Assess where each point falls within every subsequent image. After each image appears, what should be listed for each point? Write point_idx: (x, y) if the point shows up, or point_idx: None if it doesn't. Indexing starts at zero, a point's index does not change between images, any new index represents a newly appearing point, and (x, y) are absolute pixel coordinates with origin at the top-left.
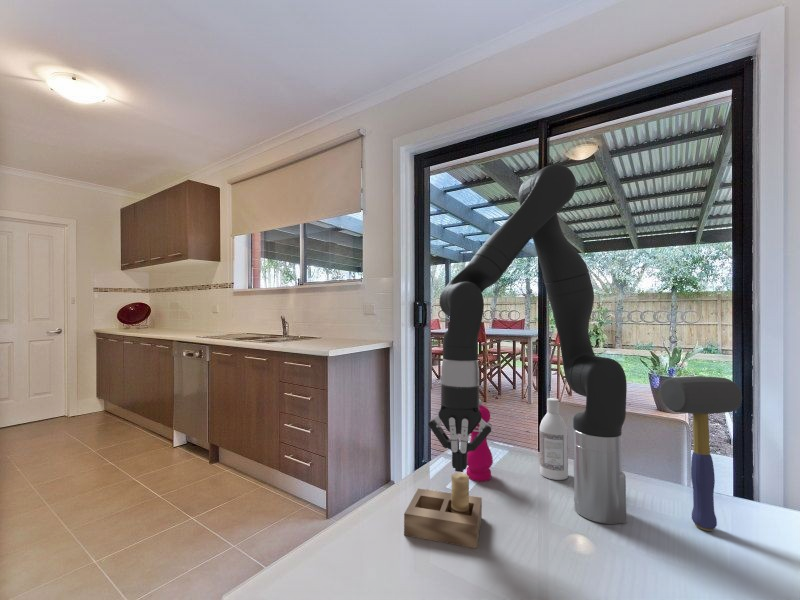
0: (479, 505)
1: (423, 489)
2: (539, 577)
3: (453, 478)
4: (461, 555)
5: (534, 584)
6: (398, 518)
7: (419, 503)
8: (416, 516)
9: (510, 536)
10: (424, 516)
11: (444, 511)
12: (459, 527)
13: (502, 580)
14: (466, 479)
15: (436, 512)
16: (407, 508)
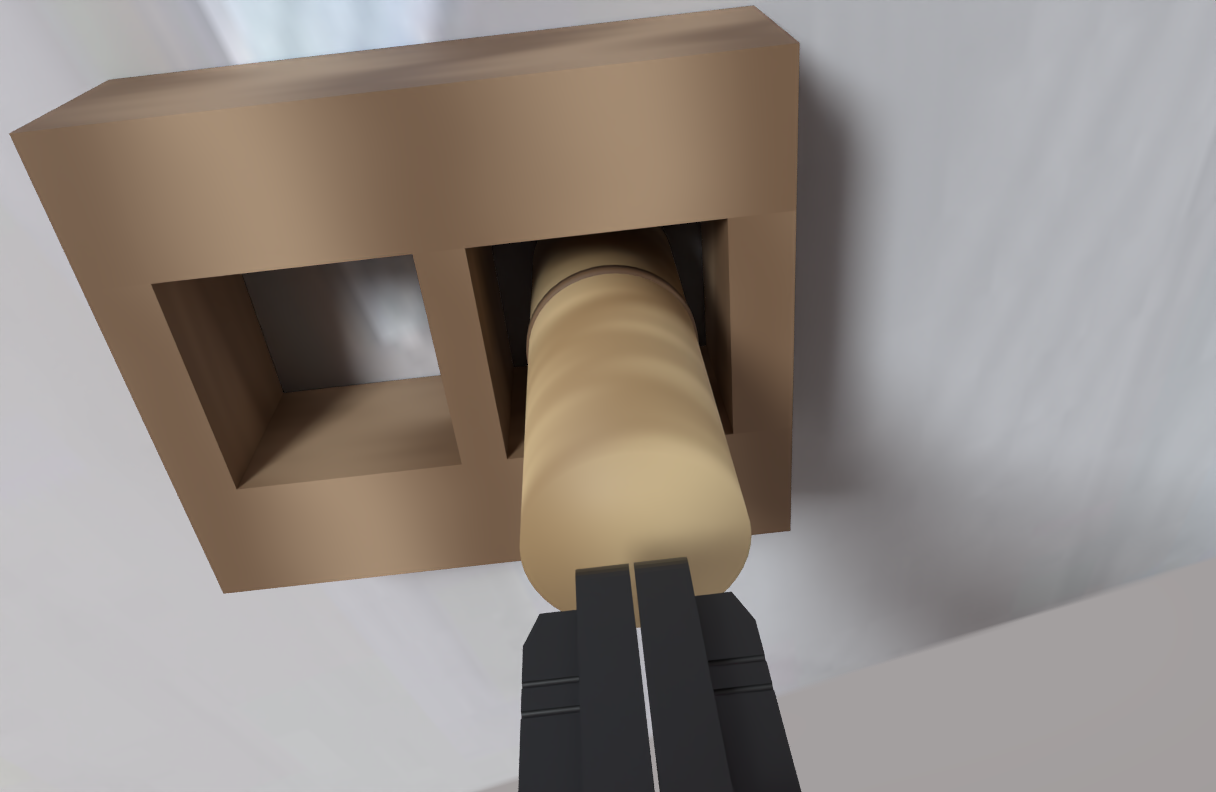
0: (788, 236)
1: (84, 135)
2: (1092, 517)
3: (568, 610)
4: None
5: (1053, 567)
6: (91, 328)
7: (191, 306)
8: (324, 576)
9: (993, 210)
10: (384, 570)
11: (500, 455)
12: None
13: (900, 597)
14: (729, 584)
15: (445, 492)
16: (199, 533)
